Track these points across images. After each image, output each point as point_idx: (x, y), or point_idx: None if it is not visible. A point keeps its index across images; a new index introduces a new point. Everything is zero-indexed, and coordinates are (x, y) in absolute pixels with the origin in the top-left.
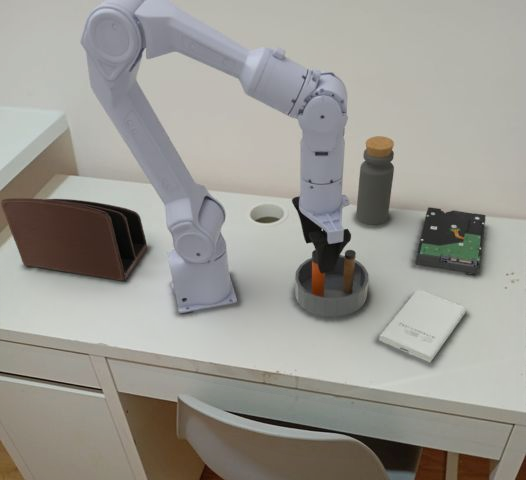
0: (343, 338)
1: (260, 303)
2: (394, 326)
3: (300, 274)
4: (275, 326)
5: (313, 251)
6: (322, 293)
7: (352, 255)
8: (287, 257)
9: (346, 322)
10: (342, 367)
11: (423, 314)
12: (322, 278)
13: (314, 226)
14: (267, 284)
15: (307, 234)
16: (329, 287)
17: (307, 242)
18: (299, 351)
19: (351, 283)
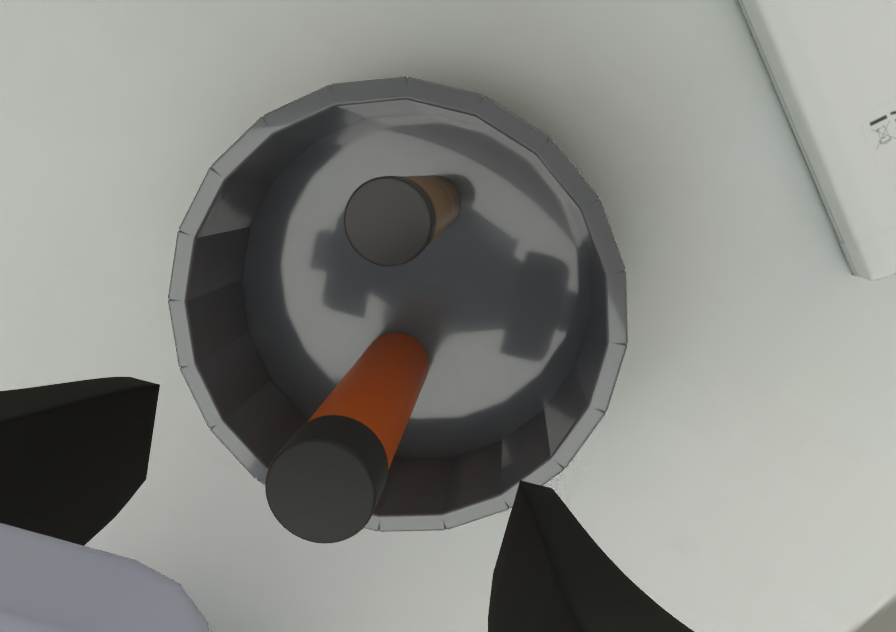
0: (721, 407)
1: (307, 600)
2: (875, 171)
3: (262, 431)
4: (479, 619)
5: (280, 516)
6: (423, 366)
7: (427, 226)
8: (36, 326)
9: (633, 333)
10: (878, 512)
11: None
12: (408, 407)
13: (50, 484)
14: (196, 512)
15: (93, 510)
16: (365, 274)
17: (141, 474)
18: (677, 612)
19: (455, 201)
